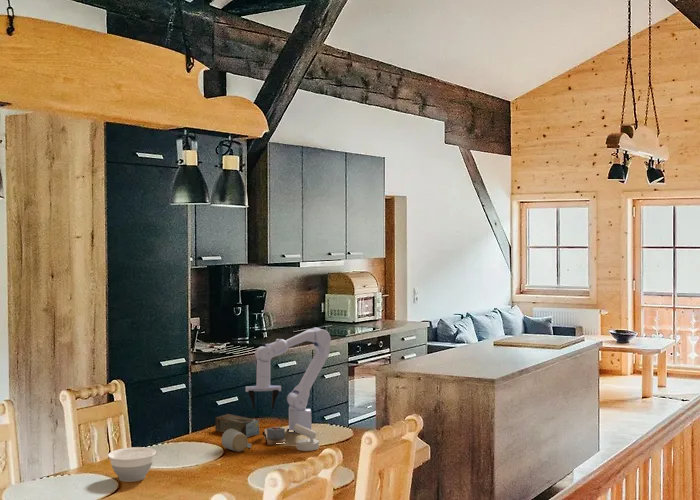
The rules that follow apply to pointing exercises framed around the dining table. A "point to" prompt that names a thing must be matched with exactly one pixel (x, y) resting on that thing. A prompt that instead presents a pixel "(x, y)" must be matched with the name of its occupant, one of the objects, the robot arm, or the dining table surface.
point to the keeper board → (272, 442)
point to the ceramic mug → (235, 440)
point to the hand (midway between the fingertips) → (263, 408)
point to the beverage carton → (237, 424)
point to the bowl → (131, 462)
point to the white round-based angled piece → (306, 443)
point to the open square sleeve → (276, 433)
